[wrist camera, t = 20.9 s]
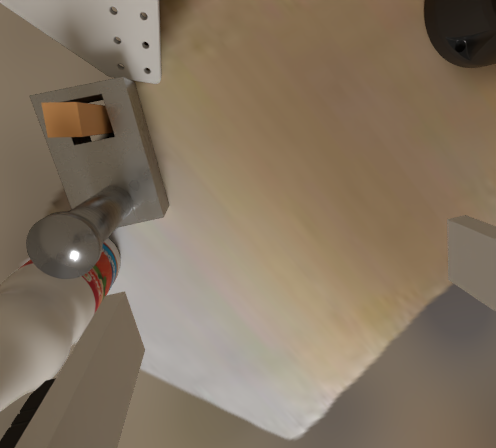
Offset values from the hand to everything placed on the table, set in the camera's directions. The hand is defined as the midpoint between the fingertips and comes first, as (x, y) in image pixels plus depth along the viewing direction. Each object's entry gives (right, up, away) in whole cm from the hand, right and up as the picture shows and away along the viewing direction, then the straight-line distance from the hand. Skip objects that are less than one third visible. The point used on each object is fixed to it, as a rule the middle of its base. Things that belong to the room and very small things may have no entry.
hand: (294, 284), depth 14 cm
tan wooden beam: (-20, +16, +29) cm, 39 cm away
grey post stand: (-19, +11, +31) cm, 38 cm away
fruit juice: (-24, -2, +35) cm, 42 cm away
